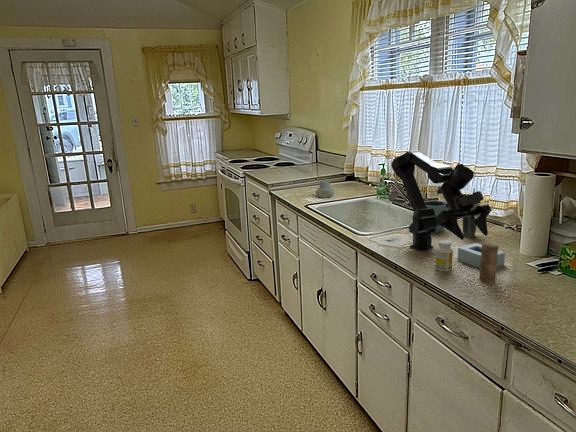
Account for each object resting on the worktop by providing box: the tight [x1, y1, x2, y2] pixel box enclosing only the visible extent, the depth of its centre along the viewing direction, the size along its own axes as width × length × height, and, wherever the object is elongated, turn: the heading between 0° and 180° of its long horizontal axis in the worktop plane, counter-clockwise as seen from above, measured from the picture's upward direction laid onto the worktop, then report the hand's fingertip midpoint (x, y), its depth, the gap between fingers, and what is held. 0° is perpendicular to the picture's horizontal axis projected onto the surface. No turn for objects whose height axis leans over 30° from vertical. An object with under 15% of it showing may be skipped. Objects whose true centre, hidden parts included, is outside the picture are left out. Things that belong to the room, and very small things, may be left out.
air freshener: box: [315, 179, 335, 199], centre depth 260 cm, size 11×8×10 cm
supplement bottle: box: [434, 239, 454, 272], centre depth 145 cm, size 5×5×10 cm
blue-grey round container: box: [424, 199, 447, 233], centre depth 187 cm, size 10×10×12 cm
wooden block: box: [478, 242, 499, 285], centre depth 133 cm, size 4×2×12 cm, turn 18°
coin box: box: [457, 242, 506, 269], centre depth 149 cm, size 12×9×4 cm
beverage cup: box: [461, 187, 480, 238], centre depth 175 cm, size 7×7×20 cm
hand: (475, 237), depth 138 cm, fingers open, 9 cm apart
